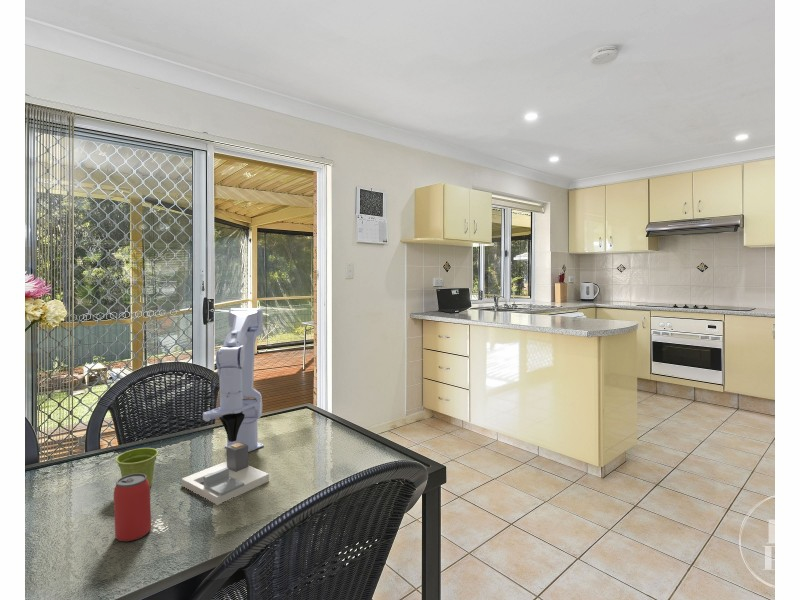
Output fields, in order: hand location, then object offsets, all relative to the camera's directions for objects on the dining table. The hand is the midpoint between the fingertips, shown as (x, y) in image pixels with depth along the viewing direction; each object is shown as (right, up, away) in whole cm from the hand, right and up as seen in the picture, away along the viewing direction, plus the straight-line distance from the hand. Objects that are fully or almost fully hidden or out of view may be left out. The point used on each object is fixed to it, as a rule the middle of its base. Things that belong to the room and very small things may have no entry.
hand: (232, 440), depth 121 cm
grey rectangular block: (+1, -8, +1) cm, 8 cm away
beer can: (-11, -12, -26) cm, 31 cm away
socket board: (0, -10, -4) cm, 11 cm away
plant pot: (-22, -10, -6) cm, 25 cm away
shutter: (+2, -8, -10) cm, 13 cm away
